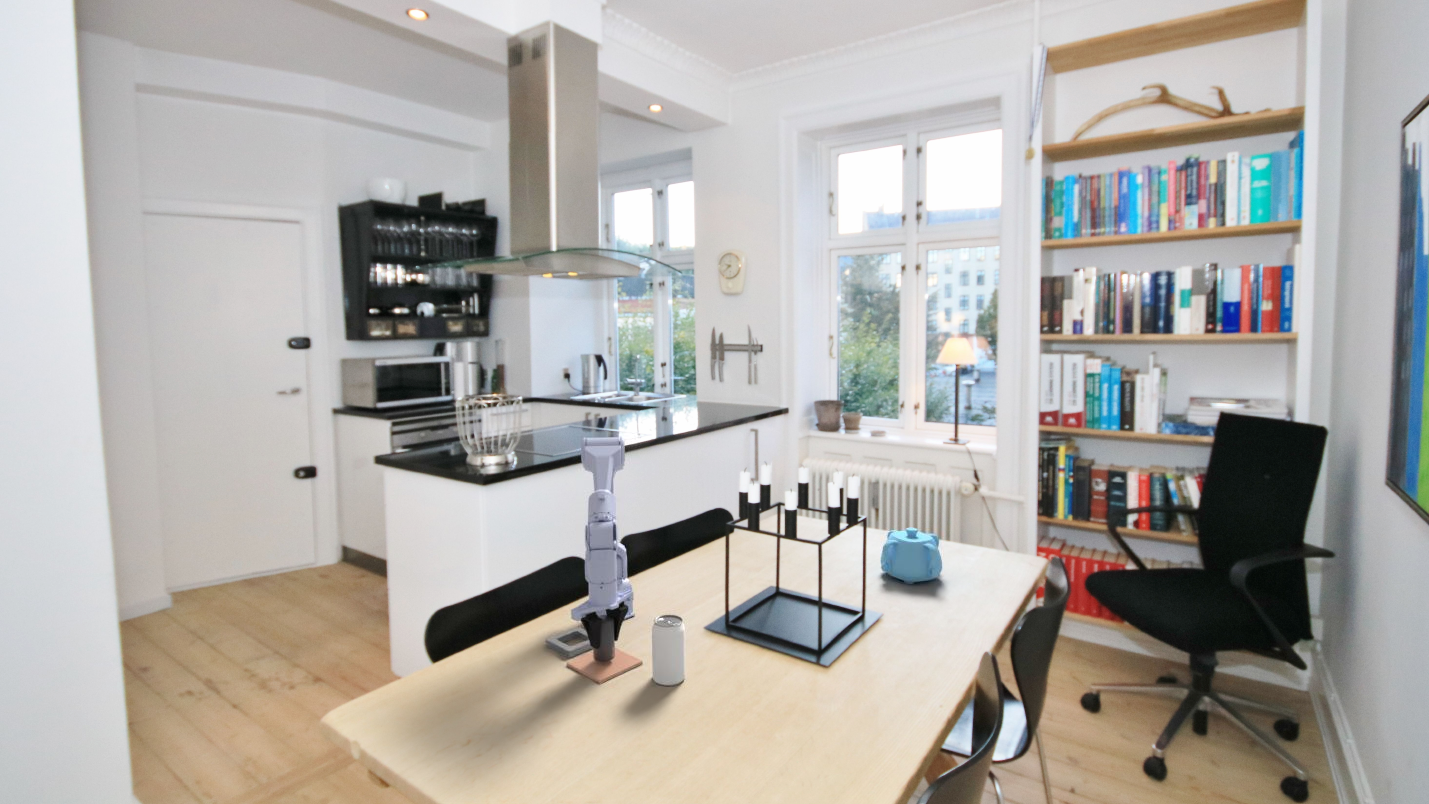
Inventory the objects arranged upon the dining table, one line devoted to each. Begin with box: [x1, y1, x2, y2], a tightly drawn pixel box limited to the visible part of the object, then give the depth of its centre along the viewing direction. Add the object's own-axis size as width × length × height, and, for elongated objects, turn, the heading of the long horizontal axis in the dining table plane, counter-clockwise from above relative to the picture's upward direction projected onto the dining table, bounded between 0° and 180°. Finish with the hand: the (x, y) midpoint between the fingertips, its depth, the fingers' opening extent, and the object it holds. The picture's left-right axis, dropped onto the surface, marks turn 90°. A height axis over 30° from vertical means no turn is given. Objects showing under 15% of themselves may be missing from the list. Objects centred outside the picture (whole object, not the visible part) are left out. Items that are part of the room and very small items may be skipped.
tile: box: [566, 647, 643, 684], centre depth 146 cm, size 11×11×1 cm
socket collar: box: [545, 626, 593, 659], centre depth 155 cm, size 9×9×2 cm
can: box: [651, 614, 686, 687], centre depth 140 cm, size 6×6×12 cm
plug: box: [592, 615, 616, 662], centre depth 146 cm, size 4×4×8 cm
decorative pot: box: [880, 527, 943, 585], centre depth 195 cm, size 16×16×14 cm
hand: (604, 643), depth 146 cm, fingers closed on plug, 4 cm apart
